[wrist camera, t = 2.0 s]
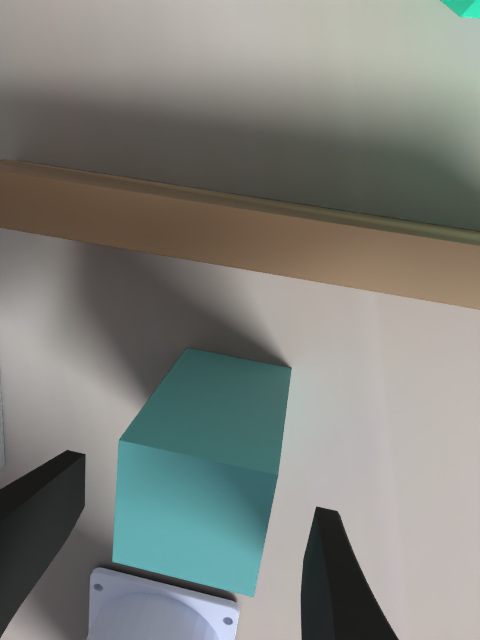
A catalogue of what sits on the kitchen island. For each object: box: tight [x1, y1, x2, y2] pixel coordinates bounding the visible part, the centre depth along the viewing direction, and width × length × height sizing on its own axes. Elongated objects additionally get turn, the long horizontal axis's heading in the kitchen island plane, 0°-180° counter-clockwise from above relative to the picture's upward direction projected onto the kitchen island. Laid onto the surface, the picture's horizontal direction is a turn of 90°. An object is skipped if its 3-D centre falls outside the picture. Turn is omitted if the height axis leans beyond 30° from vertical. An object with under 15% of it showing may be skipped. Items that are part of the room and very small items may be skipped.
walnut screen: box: [0, 160, 480, 310], centre depth 14 cm, size 2×20×5 cm, turn 82°
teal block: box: [112, 348, 291, 597], centre depth 16 cm, size 4×4×7 cm
